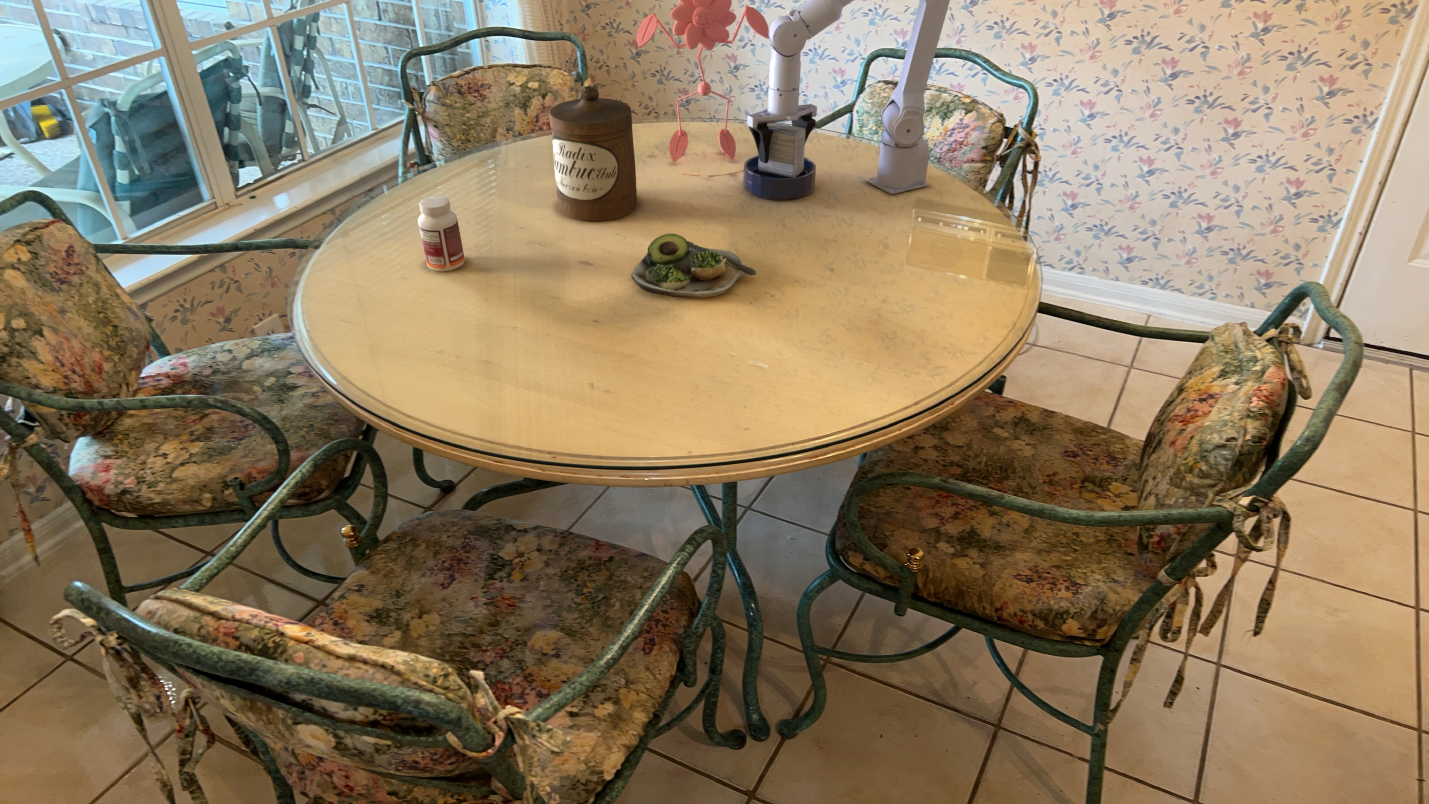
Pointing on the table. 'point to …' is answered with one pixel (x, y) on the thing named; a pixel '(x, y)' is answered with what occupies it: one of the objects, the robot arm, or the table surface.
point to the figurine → (705, 25)
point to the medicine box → (785, 151)
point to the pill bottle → (440, 234)
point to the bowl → (778, 181)
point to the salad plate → (687, 269)
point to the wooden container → (594, 157)
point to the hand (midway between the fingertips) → (780, 158)
